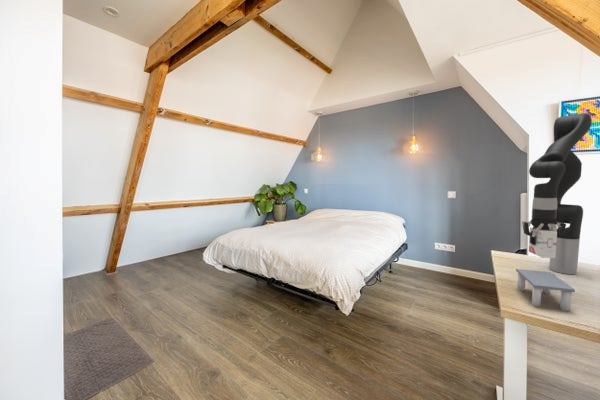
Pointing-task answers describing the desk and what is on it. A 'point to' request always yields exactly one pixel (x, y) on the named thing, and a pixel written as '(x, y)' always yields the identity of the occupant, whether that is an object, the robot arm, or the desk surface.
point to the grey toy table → (544, 286)
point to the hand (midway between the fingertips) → (542, 244)
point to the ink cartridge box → (545, 243)
